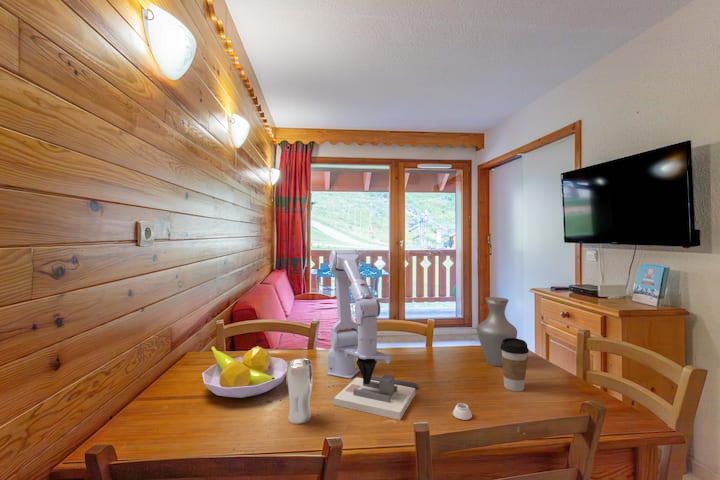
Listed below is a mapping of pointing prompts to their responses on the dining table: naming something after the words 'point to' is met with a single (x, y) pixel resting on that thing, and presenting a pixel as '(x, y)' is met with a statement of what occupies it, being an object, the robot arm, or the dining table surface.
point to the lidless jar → (462, 411)
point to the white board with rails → (376, 397)
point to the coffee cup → (514, 363)
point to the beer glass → (299, 389)
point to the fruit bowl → (244, 373)
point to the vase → (495, 330)
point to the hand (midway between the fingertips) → (367, 382)
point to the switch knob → (386, 385)
